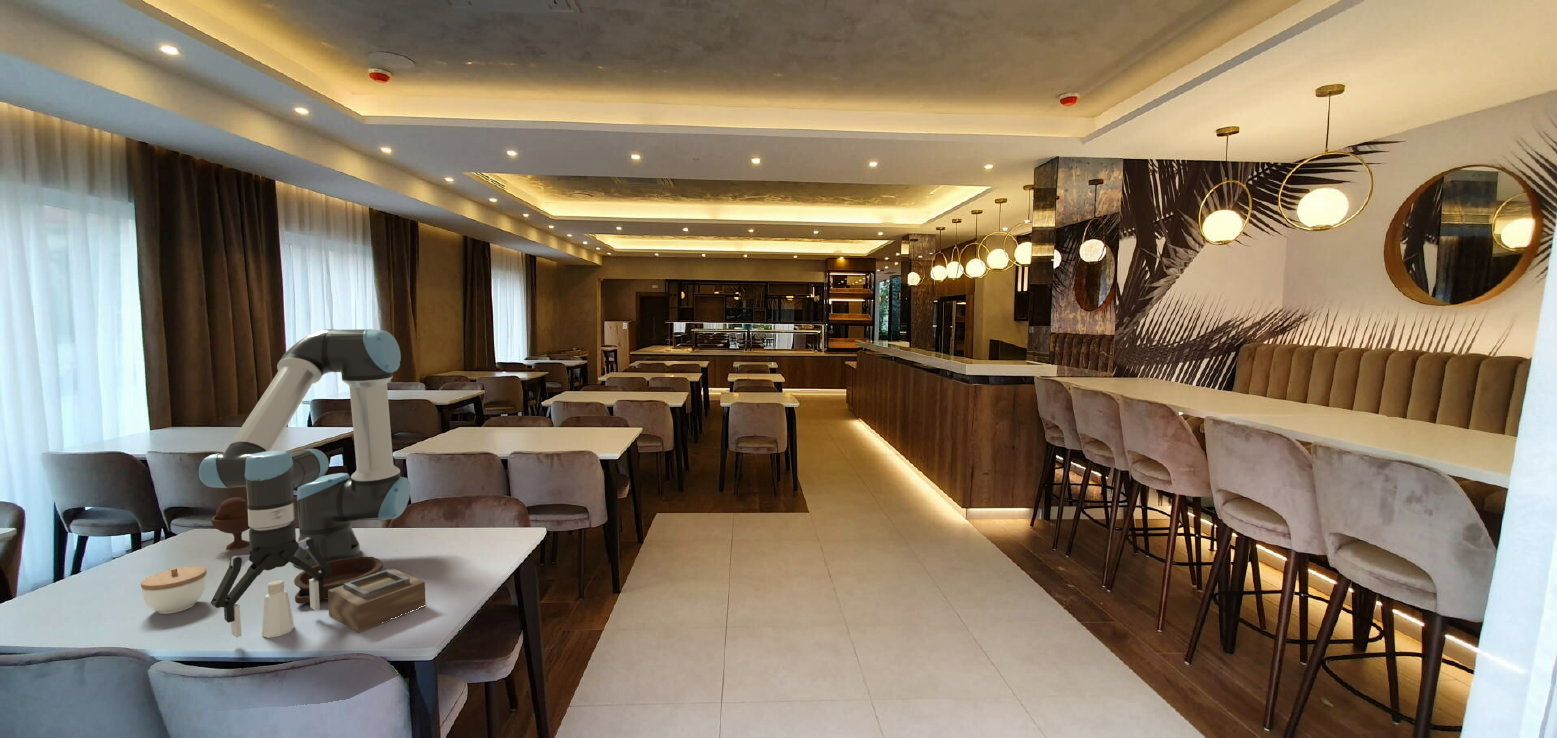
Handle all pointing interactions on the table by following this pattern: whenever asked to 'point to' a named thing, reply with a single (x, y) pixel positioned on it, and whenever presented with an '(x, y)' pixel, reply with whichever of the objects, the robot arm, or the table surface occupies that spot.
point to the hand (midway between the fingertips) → (277, 621)
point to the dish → (337, 575)
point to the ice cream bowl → (233, 521)
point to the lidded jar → (174, 589)
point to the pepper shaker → (277, 611)
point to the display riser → (375, 599)
